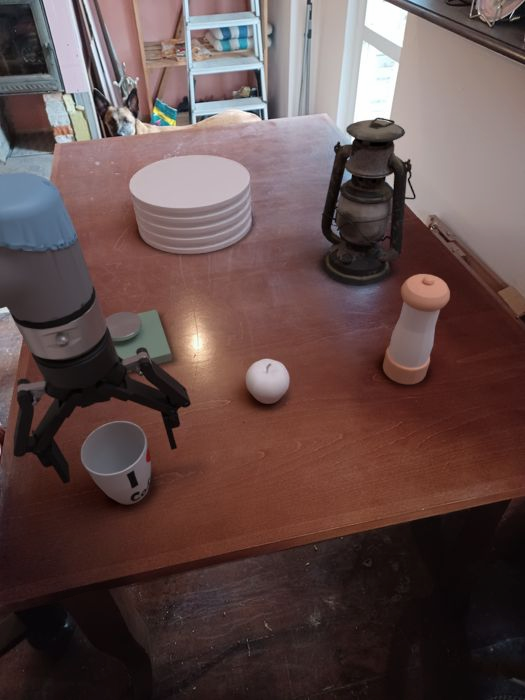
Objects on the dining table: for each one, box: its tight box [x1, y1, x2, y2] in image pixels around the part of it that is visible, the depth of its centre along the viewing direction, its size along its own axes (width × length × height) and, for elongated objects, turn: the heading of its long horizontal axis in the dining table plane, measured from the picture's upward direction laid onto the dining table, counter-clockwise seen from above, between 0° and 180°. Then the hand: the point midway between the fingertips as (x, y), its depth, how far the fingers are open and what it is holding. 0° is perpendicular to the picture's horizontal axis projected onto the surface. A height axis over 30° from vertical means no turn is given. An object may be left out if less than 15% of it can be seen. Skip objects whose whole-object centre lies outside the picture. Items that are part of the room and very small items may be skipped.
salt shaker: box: [382, 273, 451, 385], centre depth 75 cm, size 7×7×19 cm
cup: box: [80, 420, 152, 505], centre depth 63 cm, size 8×8×10 cm
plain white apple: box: [245, 358, 291, 405], centre depth 76 cm, size 7×7×8 cm
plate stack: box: [128, 154, 253, 255], centre depth 115 cm, size 28×28×12 cm
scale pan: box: [105, 311, 142, 341], centre depth 86 cm, size 12×9×1 cm
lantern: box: [320, 117, 417, 287], centre depth 96 cm, size 19×19×30 cm
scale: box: [113, 309, 173, 373], centre depth 85 cm, size 16×14×4 cm
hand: (120, 457), depth 62 cm, fingers open, 13 cm apart
